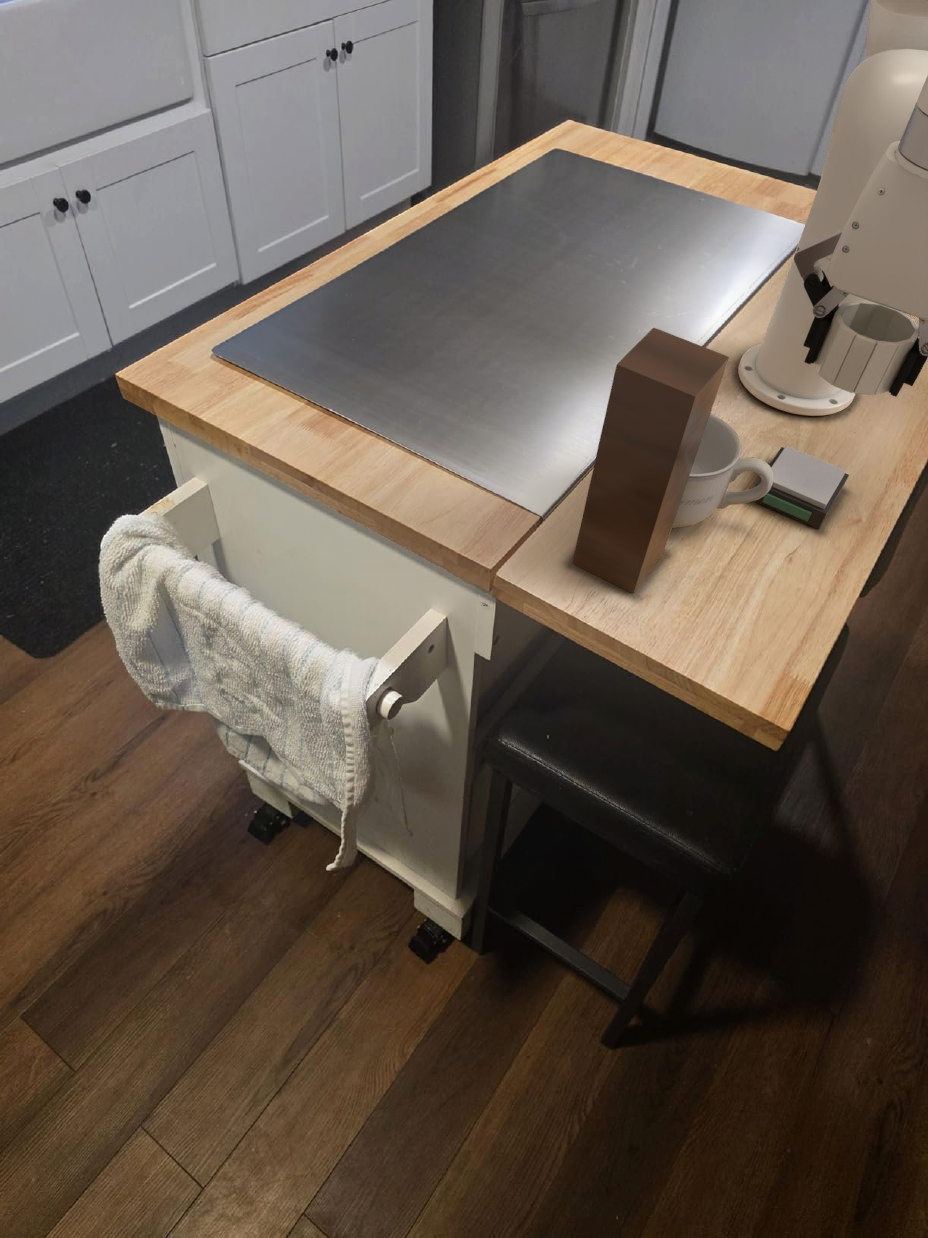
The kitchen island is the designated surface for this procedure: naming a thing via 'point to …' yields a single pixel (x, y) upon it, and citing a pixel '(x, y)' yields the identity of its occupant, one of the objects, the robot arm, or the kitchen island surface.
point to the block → (646, 455)
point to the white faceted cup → (865, 347)
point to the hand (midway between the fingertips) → (855, 370)
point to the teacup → (719, 475)
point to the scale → (803, 486)
